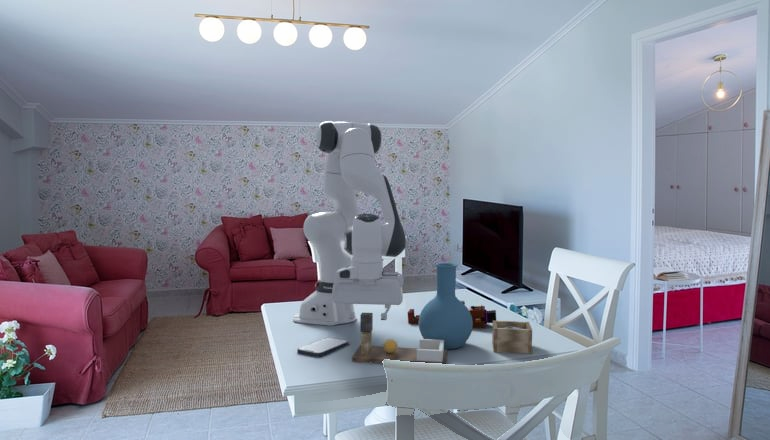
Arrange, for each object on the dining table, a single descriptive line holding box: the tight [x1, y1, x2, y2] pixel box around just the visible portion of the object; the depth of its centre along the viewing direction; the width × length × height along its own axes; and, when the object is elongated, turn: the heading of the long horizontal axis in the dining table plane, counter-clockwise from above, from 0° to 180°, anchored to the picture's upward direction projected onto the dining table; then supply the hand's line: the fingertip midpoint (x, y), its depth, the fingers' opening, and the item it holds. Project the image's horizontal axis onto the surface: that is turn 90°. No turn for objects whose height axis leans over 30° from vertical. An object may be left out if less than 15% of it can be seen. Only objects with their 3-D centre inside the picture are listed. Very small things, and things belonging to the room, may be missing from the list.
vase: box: [418, 262, 473, 350], centre depth 179 cm, size 16×16×25 cm
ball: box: [383, 338, 399, 353], centre depth 167 cm, size 4×4×4 cm
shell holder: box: [491, 320, 533, 355], centre depth 177 cm, size 11×10×7 cm
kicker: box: [359, 312, 374, 355], centre depth 168 cm, size 3×6×11 cm, turn 172°
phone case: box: [297, 337, 349, 358], centre depth 175 cm, size 9×2×16 cm
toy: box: [407, 300, 497, 329], centre depth 205 cm, size 26×7×30 cm
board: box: [351, 344, 448, 365], centre depth 167 cm, size 26×12×1 cm, turn 82°
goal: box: [417, 338, 445, 362], centre depth 165 cm, size 7×11×3 cm, turn 172°
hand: (367, 319), depth 167 cm, fingers open, 8 cm apart
